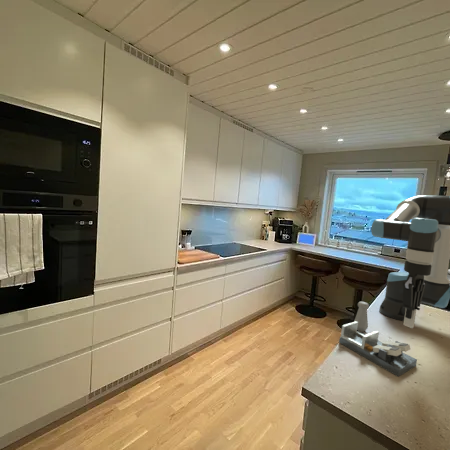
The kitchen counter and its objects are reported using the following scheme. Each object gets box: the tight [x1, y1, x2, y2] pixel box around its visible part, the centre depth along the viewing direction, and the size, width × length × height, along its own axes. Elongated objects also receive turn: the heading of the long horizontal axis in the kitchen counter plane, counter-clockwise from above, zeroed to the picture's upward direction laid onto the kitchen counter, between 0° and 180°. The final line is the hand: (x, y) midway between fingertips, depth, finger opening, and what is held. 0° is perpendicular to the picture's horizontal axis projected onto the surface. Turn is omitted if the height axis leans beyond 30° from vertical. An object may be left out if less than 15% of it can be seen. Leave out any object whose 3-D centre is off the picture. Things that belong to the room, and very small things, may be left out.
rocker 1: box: [373, 345, 403, 356], centre depth 91 cm, size 4×8×2 cm, turn 31°
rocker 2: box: [382, 340, 411, 353], centre depth 94 cm, size 4×8×2 cm, turn 31°
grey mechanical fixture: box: [338, 321, 418, 377], centre depth 97 cm, size 13×22×8 cm, turn 31°
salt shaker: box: [353, 301, 370, 333], centre depth 116 cm, size 6×6×13 cm
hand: (408, 326), depth 91 cm, fingers closed
